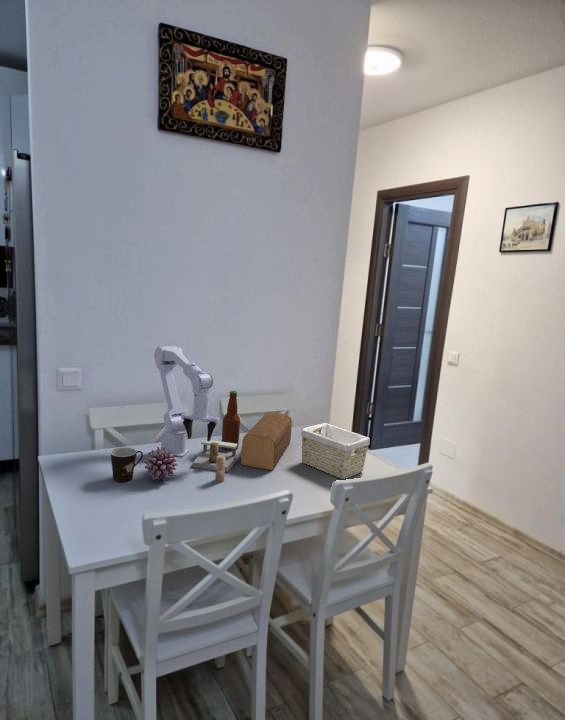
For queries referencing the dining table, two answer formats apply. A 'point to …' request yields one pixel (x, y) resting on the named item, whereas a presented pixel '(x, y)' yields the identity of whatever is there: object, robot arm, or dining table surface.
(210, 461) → the walnut peg
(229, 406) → the bottle
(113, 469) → the coffee mug
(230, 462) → the socket board
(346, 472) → the storage basket
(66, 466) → the dining table surface
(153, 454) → the spiky ball
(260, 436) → the bread
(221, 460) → the maple peg
